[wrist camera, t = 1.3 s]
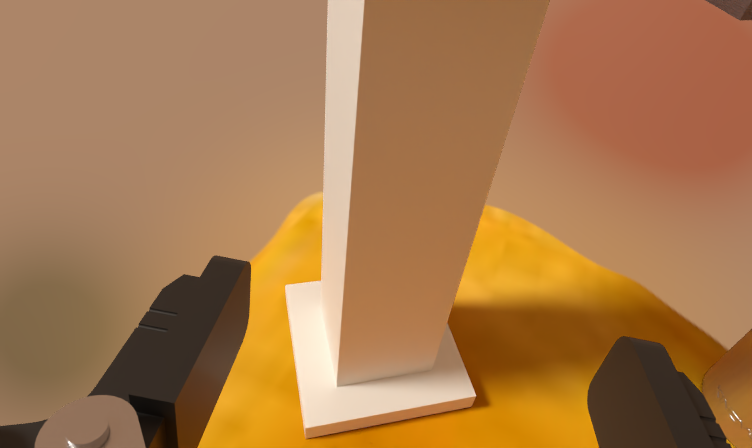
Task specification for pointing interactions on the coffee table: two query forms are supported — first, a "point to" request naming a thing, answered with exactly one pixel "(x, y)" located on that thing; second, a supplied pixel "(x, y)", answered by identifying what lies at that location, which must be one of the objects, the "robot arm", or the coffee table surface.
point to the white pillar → (403, 200)
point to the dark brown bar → (735, 8)
